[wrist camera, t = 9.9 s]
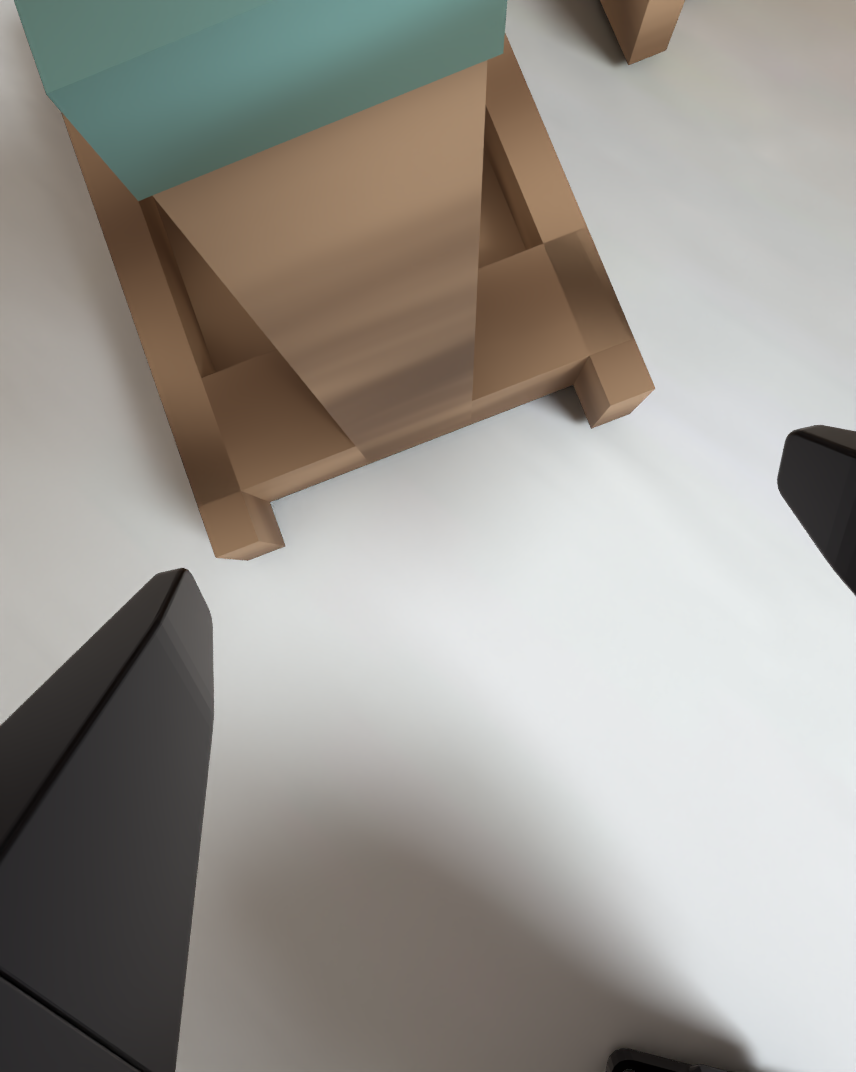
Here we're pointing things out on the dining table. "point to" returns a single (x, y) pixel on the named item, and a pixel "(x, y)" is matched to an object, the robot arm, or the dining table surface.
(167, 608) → the robot arm
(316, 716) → the dining table surface
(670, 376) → the dining table surface
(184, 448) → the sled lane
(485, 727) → the dining table surface
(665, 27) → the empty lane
